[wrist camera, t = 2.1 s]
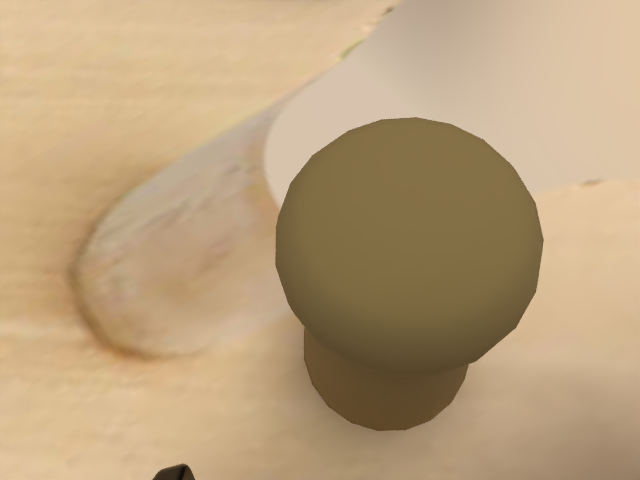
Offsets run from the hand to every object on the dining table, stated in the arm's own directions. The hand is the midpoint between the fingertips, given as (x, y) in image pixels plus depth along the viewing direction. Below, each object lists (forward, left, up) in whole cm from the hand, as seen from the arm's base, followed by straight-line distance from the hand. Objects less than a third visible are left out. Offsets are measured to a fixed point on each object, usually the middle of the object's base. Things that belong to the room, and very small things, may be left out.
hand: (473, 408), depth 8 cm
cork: (+3, +1, -11) cm, 11 cm away
